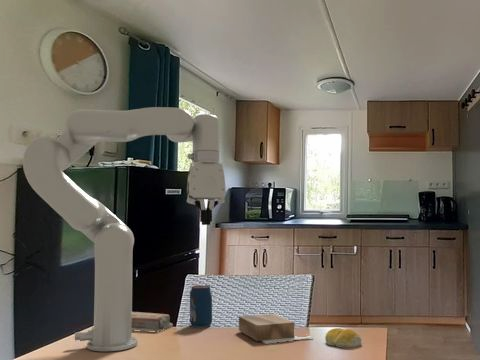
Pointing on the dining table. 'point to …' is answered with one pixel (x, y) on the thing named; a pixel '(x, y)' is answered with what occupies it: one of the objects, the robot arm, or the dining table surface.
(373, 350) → the dining table surface
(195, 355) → the dining table surface
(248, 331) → the wooden block
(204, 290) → the soda can
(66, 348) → the dining table surface
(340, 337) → the bread roll
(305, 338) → the mat
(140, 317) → the packaged product
